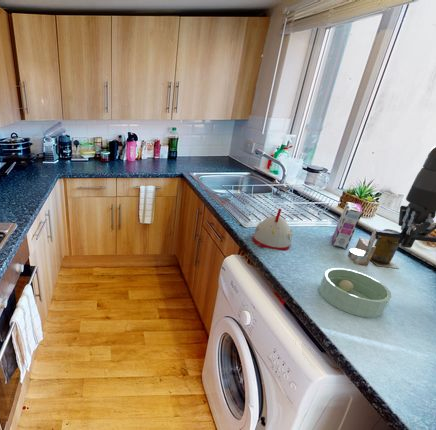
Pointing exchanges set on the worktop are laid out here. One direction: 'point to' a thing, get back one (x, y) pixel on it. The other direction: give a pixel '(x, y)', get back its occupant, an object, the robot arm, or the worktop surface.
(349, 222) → the candy bar box
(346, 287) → the dumpling
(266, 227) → the cream dome hat
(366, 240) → the brown wooden block
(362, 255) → the ladle
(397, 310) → the worktop surface
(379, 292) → the bowl
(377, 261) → the condiment
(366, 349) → the worktop surface
